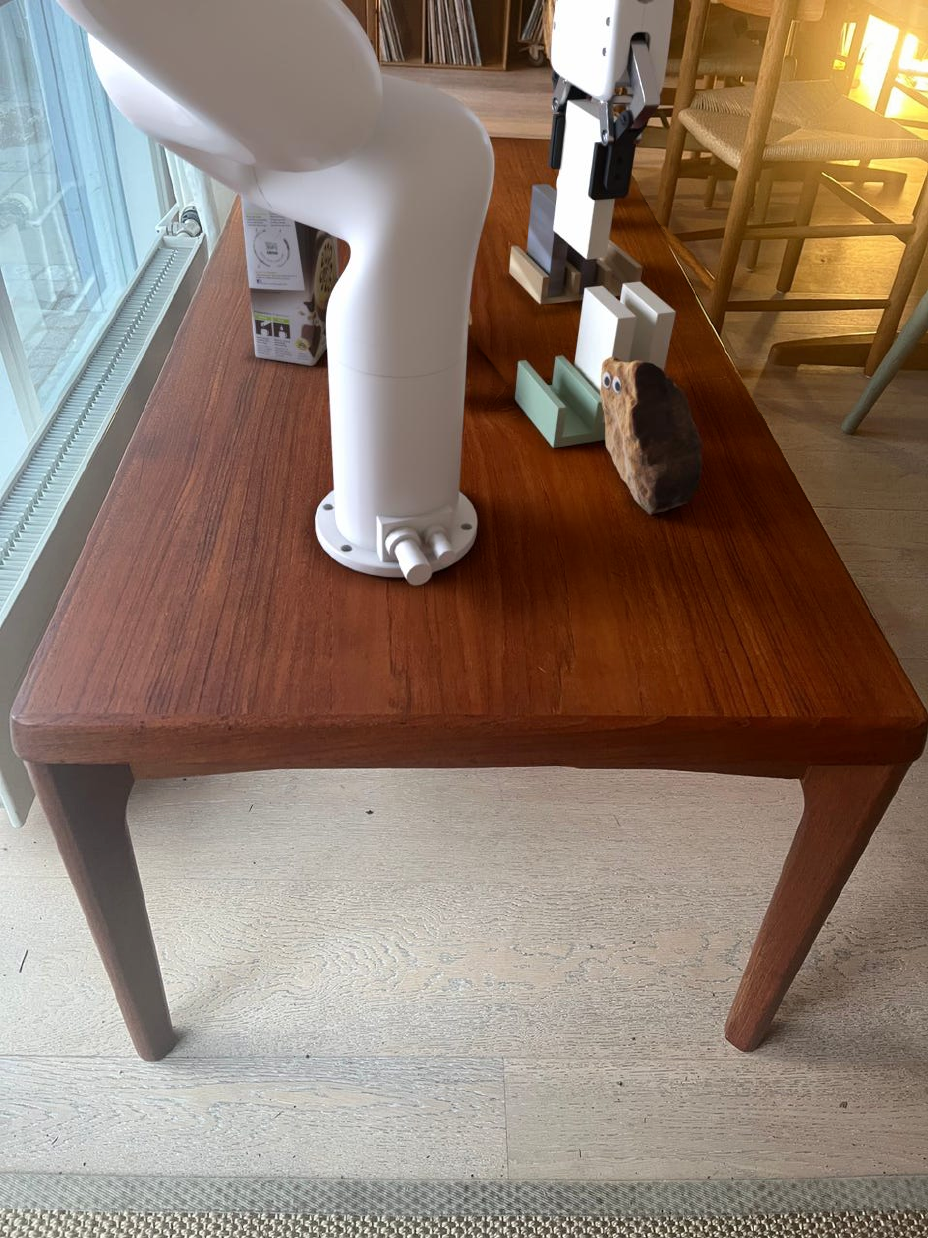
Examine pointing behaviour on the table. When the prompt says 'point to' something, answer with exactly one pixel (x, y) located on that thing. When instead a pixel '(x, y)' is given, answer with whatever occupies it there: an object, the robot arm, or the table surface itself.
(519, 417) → the table surface
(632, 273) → the wooden rack with slabs
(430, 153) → the robot arm
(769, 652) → the table surface
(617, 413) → the decorative rock
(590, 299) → the green and white rack
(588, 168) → the cream book
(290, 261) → the coffee box
